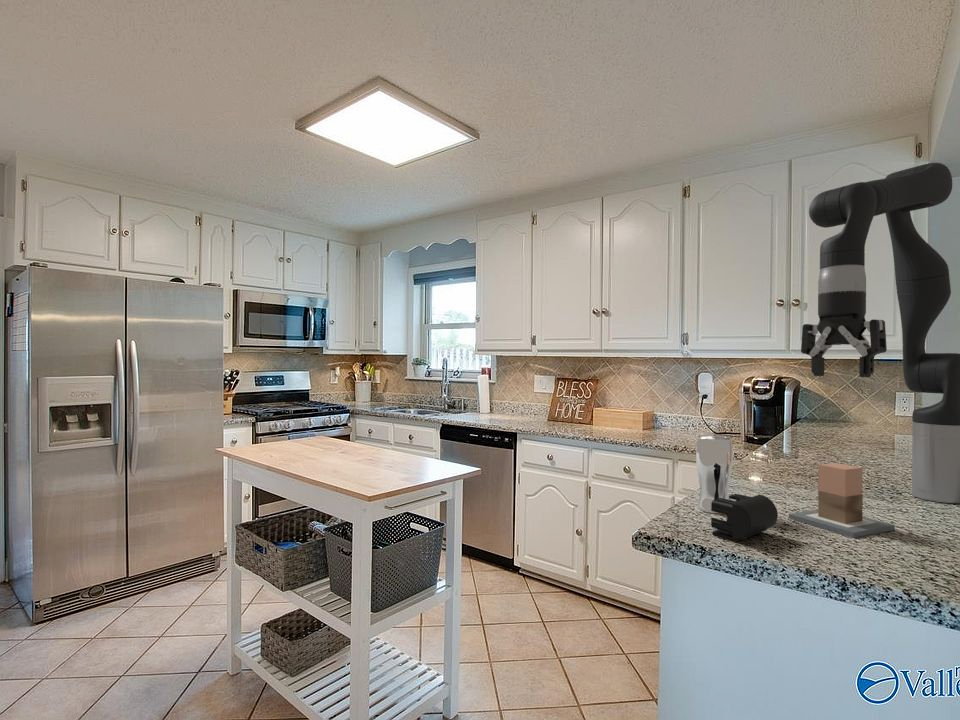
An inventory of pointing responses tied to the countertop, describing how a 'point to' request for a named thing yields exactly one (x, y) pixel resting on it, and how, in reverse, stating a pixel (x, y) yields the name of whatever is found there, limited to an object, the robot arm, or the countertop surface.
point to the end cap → (743, 516)
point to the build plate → (850, 529)
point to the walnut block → (840, 507)
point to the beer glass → (713, 469)
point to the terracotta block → (840, 479)
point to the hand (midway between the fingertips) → (841, 376)
